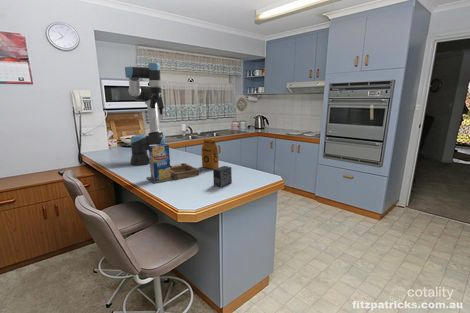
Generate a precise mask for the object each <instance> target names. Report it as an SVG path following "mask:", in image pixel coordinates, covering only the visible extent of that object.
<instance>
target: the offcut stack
mask: <svg viewBox="0 0 470 313" xmlns="http://www.w3.org/2000/svg"><path fill="white" fill-rule="evenodd" d="M177 164H178V165H176V164H170V165H171V168H173V167H179V166H182V165H181V164H182V163H177Z"/></svg>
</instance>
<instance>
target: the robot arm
mask: <svg viewBox="0 0 470 313" xmlns="http://www.w3.org/2000/svg"><path fill="white" fill-rule="evenodd" d="M160 66H161V65H160V63H158V62H149V63H147V67H146V66H124V75H125V78H126V79H128V85H129V87H128V89H127V91H128V95H129V96H130V97H131V99H133V100H135V101H137V102H144V104H145V105H146V106H147V115H148V116H147V117H148V124H149V126H148V127H149V132H148V133H147V134H145V133H139V134H135V135H132V136H131V137H130V146H131V147H130V148H131V149H130V150H131V157H130V165H131V166H144V165H150V158H149V154H148V151H149V146H148V145H157V144H166V135H165V134H164V133H163V131H161V121H160V120H164V112H163V111H164V110H163V109H165V106H164V102H163V98H162V88H161V87H162V81H161V67H160ZM141 79H145V80H147V79H148V84H149V87H146V86H145V87H141V84H140V83H141Z"/></svg>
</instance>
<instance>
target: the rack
mask: <svg viewBox="0 0 470 313" xmlns="http://www.w3.org/2000/svg"><path fill="white" fill-rule="evenodd" d="M178 164H179V163H176V164H175V165H178ZM180 164H181V165H182V166H179V167H173V168H171V165H172V164H170V172H171V177H173V178H175V181H176V180H180V179H186V178H192V177H196V176H200V168H199V169H198V168H197V167H194V166H192V165H190V164H187V163H185V162H183V163H180Z"/></svg>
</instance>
